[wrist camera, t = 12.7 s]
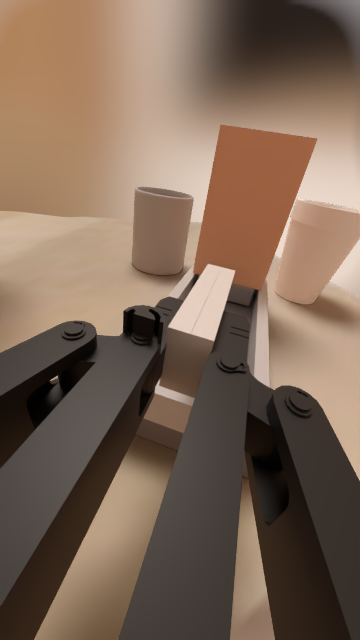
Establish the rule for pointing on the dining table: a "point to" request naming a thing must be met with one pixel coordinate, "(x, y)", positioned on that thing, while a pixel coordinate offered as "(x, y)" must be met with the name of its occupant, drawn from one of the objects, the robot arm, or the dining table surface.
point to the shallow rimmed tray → (174, 408)
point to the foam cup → (315, 248)
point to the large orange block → (250, 203)
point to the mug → (160, 230)
